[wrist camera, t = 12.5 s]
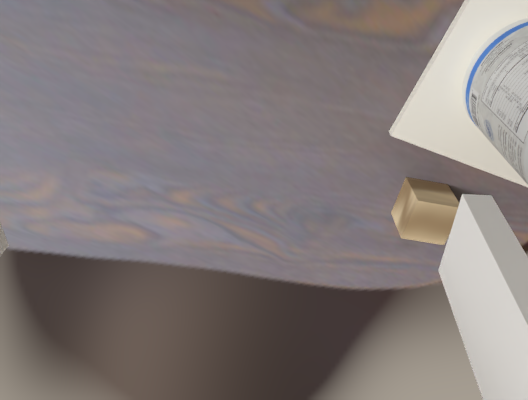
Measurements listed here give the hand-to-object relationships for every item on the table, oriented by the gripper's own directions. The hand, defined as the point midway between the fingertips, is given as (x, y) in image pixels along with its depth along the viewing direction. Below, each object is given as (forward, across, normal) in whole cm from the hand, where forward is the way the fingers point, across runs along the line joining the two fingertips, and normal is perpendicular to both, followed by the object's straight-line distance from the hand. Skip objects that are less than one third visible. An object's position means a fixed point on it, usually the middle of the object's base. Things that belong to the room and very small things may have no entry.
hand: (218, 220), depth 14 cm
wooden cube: (+27, +14, -17) cm, 35 cm away
